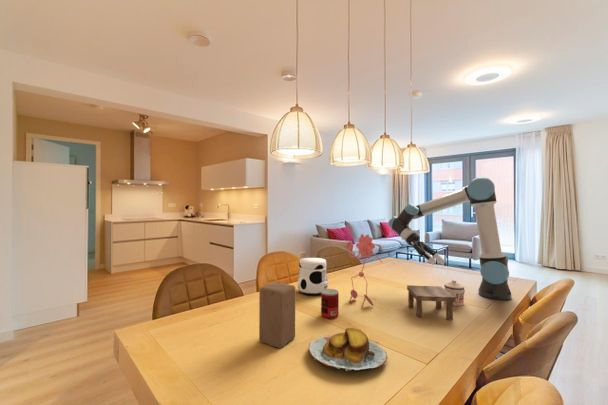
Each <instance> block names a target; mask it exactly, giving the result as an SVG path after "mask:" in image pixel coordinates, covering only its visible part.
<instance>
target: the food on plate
mask: <svg viewBox="0 0 608 405" xmlns="http://www.w3.org/2000/svg"><path fill="white" fill-rule="evenodd" d="M344 331H345V332H339V333H335V334H331V335H326V336H320V337H317V338H316V339H314V340H313V341H311V342H310V343H309V345H308V351H309V352H310V354H311V356H312V357H314V359H313V361H318V362H320V363H321V364H322V365H324V366H327V367H334V368H336V369H337V370H341V369H344V370H345V371H346V372H349V371H352V370H354V371H360V370H366V369H369V370H370V369H374V368H375V369H377V367H378V368H379V367H381V366H383V365H385V364H386V363H387V362H388V356H387V352H386V350H385V349H384V348H383V347H381V345H380V344H378V343H375V342H374V341H372V340H369V338H368V335H367V334H366V333H365V332H364V331H362V330H361V329H358V328H353V327H347V328H345V330H344Z"/></svg>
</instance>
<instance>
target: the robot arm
mask: <svg viewBox="0 0 608 405" xmlns="http://www.w3.org/2000/svg"><path fill="white" fill-rule="evenodd" d="M495 188H496V187H495V184H494V182H493V180H491V179H490V178H488V177H485V176H479V177H476V178H473V179H471V181H469V183H467V185H466V186H462V189H460V190H457V191H454V192H451V193H449V194H448V193H447V194H446V195H442V196H440V197H437V198H433V199H431V200H428V201H426V202H423V203H419V204H418V205H415V204H413V203H411V202H409V203H407V205H406V206H404V208H403V209H402V211H401V212H400V214H399V215H398V216H395V215H394V216H392V217H391V218H390V219H389V220H388V223H387V225H388V226H389V228H390V229H391V230H392V231H393V232H394V233H396V234H397V235H398V236H399V237H400V238H401V240H403V241H405V243H406V244H408V245H409V246H410V247H413V249H415V251H416V252H417V253H418V255H419V256H420V257H421V258H422V257H424V259H426V260H427V262H428V263H430V264H431V265H432V266H434V265H435V263H436V262H438V263H440V264H441V265H442V266H443V265H444V264H446V262H447V261H446V260H445V259H444V258H443V257H442V256H440V255H439V254H438V251H437V250H435V249H433V248H431V247H430V246H429V245H427V244H426V243H425V242H424V241H420V236H419V235H418V234H417V233H416V232H415V231H414V230H412V229H411V228H410V227H409V226H408V225H409V224H410V223H411V222H412V220H416V219H419V218H422V217H424V216H429V215H431V214H433V213H434V214H435V213H437V212H440V211H443V210H446V209H449V208H452V207H456V206H458V205H461V204H464V203H470V206H472V207H473V208H474V214H475V218H476V219H475V220H476V225H477V231H478V238H479V244H480V251H481V253H480V254H479V255H478V260H479V265H480V266H479V267H480V269H479V271H480V275H481V277H482V278H481V282H480V285H479V287H478V290H477V291H478V295H480V296H482V297H485V298H487V299H492V300H496V301H497V300H498V301H509V300H512V292H511V290H510V287H509V284H508V279H509V276H510V270H509V268H508V266H509V265H508V264H509V263H508V262H509V259H508V255H506V254H505V253H503V251H502V248H501V242H500V236H499V235H500V234H499V229H498V223H497V218H496V211H495V204H496V203H498V202H497V194H496V190H495Z"/></svg>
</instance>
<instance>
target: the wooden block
mask: <svg viewBox="0 0 608 405" xmlns="http://www.w3.org/2000/svg"><path fill="white" fill-rule="evenodd" d="M258 292H259V300H258V301H259V304H258V305H259V312H258V313H259V316H258V320H259V325H258V326H259V327H258V331H259V332H258V333H259V334H258V335H259V337H258V338H259V339H258V340H259V342H260V343H262V344H266V345H268V346H272V347H275V348H278V349H282V348H283V347H285V345H287V344H288V343H290V342H291V341H293V340H294V339H295V337H296V286H295V285H293V284H288V283H282V282H279V281H278V282H276V281H275V282H271V283H270V284H267V285H264V286H261V287H260V288H259V291H258Z"/></svg>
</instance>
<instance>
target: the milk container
mask: <svg viewBox="0 0 608 405" xmlns="http://www.w3.org/2000/svg"><path fill="white" fill-rule="evenodd" d="M297 289H298V292H300V293H302V294H305V295H321V291H322V290H324V289H329V280H328V276H327V260H326V259H325V258H321V257H304V258H301V259H299V264H298V279H297Z"/></svg>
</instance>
